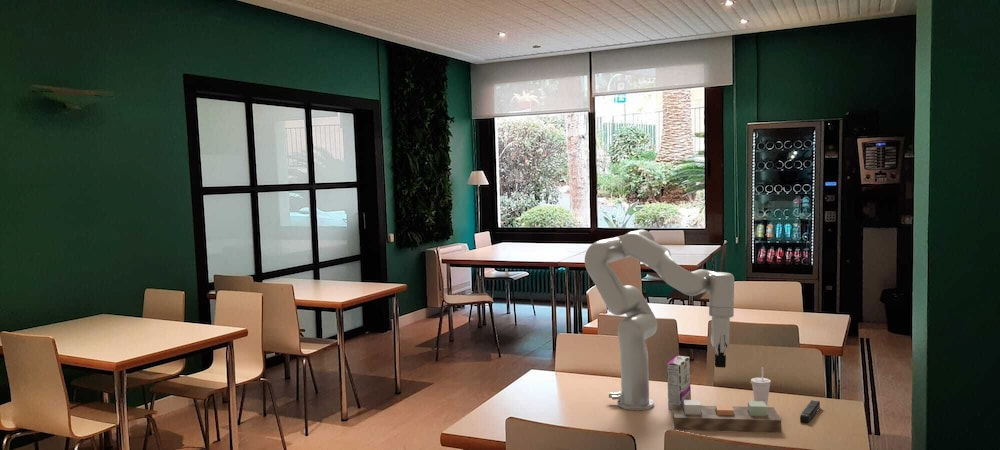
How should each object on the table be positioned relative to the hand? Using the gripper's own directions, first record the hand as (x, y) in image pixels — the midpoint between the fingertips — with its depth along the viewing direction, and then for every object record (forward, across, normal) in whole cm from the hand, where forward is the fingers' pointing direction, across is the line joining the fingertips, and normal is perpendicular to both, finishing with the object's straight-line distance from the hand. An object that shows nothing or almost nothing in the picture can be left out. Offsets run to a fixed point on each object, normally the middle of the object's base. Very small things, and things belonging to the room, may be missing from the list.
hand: (720, 366), depth 227 cm
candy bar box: (+19, -13, -12) cm, 26 cm away
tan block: (+16, +4, +1) cm, 17 cm away
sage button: (+15, +4, +11) cm, 19 cm away
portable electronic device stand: (+18, -7, +30) cm, 35 cm away
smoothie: (+18, -13, +15) cm, 27 cm away
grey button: (+15, +4, -9) cm, 18 cm away
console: (+18, +4, +1) cm, 18 cm away
